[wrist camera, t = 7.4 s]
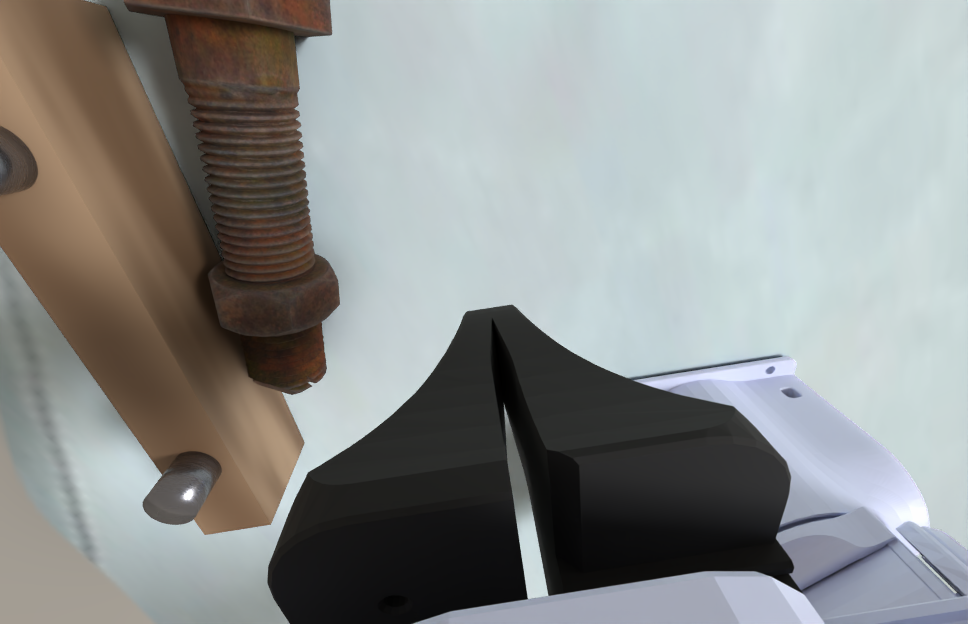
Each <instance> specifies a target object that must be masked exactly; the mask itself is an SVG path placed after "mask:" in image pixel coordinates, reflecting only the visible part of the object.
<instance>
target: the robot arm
mask: <svg viewBox="0 0 968 624" xmlns="http://www.w3.org/2000/svg"><path fill="white" fill-rule="evenodd" d="M796 366H797V363H796V361H795V360H794V359H792V358H791V357H789V356H785V357H779V358H772V359H766V360H760V361H753V362H747V363H740V364H734V365H728V366H721V367H715V368H708V369H702V370H696V371H689V372H683V373H676V374H670V375H664V376H657V377H651V378H644V379H638V380H630V379H628V378H625V377H623V376H620V375H618V374H615V373H613V372H610V371H608V370H606V369H604V368H601V367H599V366H597V365H595V364H593V363H591V362H589V361H587V360H585V359H583V358H582V357H580V356H578V355H576V354H574V353H573V352H571V351H569V350H568V349H566V348H565V347H563V346H562V345H560V344H558V343H557V342H556V341H554V340H553V339H551V338H550V337H549V336H548V335H546V334H545V333H544V332H543V331H541V330H540V329H539V328H538V327H536V326H535V325H534V324H533V323H532V322H531V321H530V320H529V319H527V318H526V317H525V316H524V315H523V314H522V313H521V312H520V311H519V310H518V309H517V308H516V307H515V306H513V305H507V306H500V307H494V308H487V309H480V310H474V311H467V312H466V313H465V315H464V316H463V319H462V322H461V324H460V326H459V329H458V331H457V333H456V335H455V337H454V339H453V340H452V342H451V344H450V346H449V348H448V349H447V351H446V353H445V354H444V356H443V357H442V359H441V360H440V362H439V363H438V365H437V366H436V368H435V369H434V371H433V372H432V373H431V375H430V376H429V377H428V379H427V380H426V381H425V382H424V384H423V385H422V386H421V387H420V388H419V389H418V391H417V392H416V393H415V394H414V395H413V396H412V397H411V398H410V399H408V400H407V401H406V402H405V403H404V404H403V405H402V406H401V407H400V408H399V409H398V410H397V411H396V412H395V413H394V414H393V415H391V416H390V417H389V418H388V419H387V420H385V421H384V422H383V423H382V424H380V425H379V426H378V427H377V428H375V429H374V430H373V431H371V432H370V433H369V434H367V435H366V436H365V437H363V438H362V439H361V440H359V441H358V442H356V443H355V444H353V445H352V446H350V447H349V448H347V449H346V450H344V451H342V452H341V453H339V454H338V455H336V456H334V457H333V458H331V459H330V460H328V461H326V462H325V463H323V464H322V465H320V466H319V467H317V468H315V469H313V470H312V471H310V472H308V474H307V476H306V478H305V480H304V482H303V484H302V486H301V488H300V490H299V492H298V494H297V496H296V498H295V500H294V503H293V505H292V507H291V510H290V512H289V514H288V517H287V519H286V522H285V525H284V527H283V530H282V532H281V535H280V538H279V540H278V543H277V545H276V548H275V551H274V553H273V556H272V558H271V561H270V564H269V567H268V586H269V588H270V590H271V593H272V595H273V598H274V600H275V601H276V603H277V604H278V606H279V607H280V609H281V611H282V612H283V614H284V615H285V617H286V618H287V620H288V621H289V623H290V624H968V550H967V549H966V548H965V547H964V546H962V545H961V544H960V543H959V542H957V541H956V540H955V539H954V538H952V537H951V536H950V535H948V534H947V533H945V532H944V531H942V530H939V529H935V528H931V527H930V524H929V515H928V510H927V506H926V504H925V501H924V499H923V496H922V494H921V492H920V490H919V489H918V487H917V485H916V484H915V482H914V480H913V479H912V477H911V476H910V474H909V473H908V471H907V470H906V469H905V468H904V466H903V465H902V464H901V463H900V461H899V460H898V459H897V458H896V457H895V456H894V455H893V454H892V453H891V452H890V451H889V450H888V449H886V448H885V447H884V446H883V445H882V444H881V443H879V442H878V441H877V440H876V439H874V438H873V437H872V436H871V435H869V434H868V433H867V432H865V431H864V430H863V429H862V428H860V427H859V426H858V425H857V424H855V423H854V422H853V421H852V420H850V419H849V418H848V417H847V416H845V415H844V414H843V413H842V412H840V411H839V410H838V409H837V408H835V407H834V406H833V405H832V404H830V403H829V402H828V401H827V400H825V399H824V398H823V397H822V396H820V395H819V394H818V393H817V392H815V391H814V390H813V389H811V388H810V387H809V386H808V385H806V384H805V383H804V382H803V381H801V380H800V379H799V378H798V377H796V376H795V375H794V373H795V370H796ZM768 367H769V368H768ZM767 368H768V369H767ZM504 405H505V408H506V412H507V415H508V419H509V422H510V425H511V429H512V432H513V436H514V439H515V442H516V446H517V449H518V452H519V456H520V459H521V462H522V466H523V469H524V473H525V477H526V481H527V485H528V490H529V495H530V500H531V505H532V510H533V516H534V521H535V526H536V531H537V537H538V542H539V547H540V553H541V558H542V563H543V568H544V574H545V579H546V585H547V590H548V595H549V596H546V597H539V598H533V599H528V598H527V591H526V584H525V577H524V570H523V564H522V557H521V550H520V543H519V536H518V529H517V523H516V516H515V509H514V502H513V495H512V489H511V483H510V477H509V470H508V464H507V450H506V433H505V417H504ZM919 554H921V555H922V558H923V559H924V560H925V562H926V563H928V564H929V565H930V566H931V567H932V568H933V569H934V570H935V571H936V572H937V573H938V574H939V575H940V576H941V577H942V578H943V579H944V580H945V581H946V582H947V583H948V584H949V585H950V586H951V587H952V588H953V589H954V590H955V591H956V592H957V593H956V594H955V593H953V592H952V591H951V590H950V589H949V588H948V587H947V586H946V585H945V584H944V583H943V582H942V581H941V580H940V579H939V578H938V577H937V576H936V575H935V574H934V573H933V572H932V571H931V570H930V569H929V568H928V567H927V566H926V565H925V564H924V563H923V562H922V561H921V560H920V559H919V558H918V557H917V556H918V555H919Z"/></svg>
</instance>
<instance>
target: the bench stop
mask: <svg viewBox="0 0 968 624" xmlns="http://www.w3.org/2000/svg"><path fill="white" fill-rule="evenodd" d="M0 246H1V248H2V249H3V250H4V252H5V253H6V255H7V256H8V257H9V259H10V260H11V262H12V263H13V265H14V266H15V267H16V269H17V270H18V272H19V273H20V274H21V276H22V277H23V279H24V280H25V282H26V283H27V284H28V286H29V287H30V289H31V290H32V291H33V293H34V294H35V296H36V297H37V298H38V300H39V301H40V303H41V304H42V306H43V307H44V308H45V310H46V311H47V313H48V314H49V315H50V317H51V318H52V320H53V321H54V323H55V324H56V325H57V327H58V328H59V330H60V331H61V332H62V334H63V335H64V337H65V338H66V339H67V341H68V342H69V344H70V345H71V347H72V348H73V349H74V351H75V352H76V354H77V355H78V356H79V358H80V359H81V361H82V362H83V363H84V365H85V366H86V368H87V369H88V371H89V372H90V373H91V375H92V376H93V378H94V379H95V380H96V382H97V383H98V385H99V386H100V388H101V389H102V390H103V392H104V393H105V395H106V396H107V397H108V399H109V400H110V402H111V403H112V404H113V406H114V407H115V409H116V410H117V412H118V413H119V414H120V416H121V417H122V419H123V420H124V421H125V423H126V424H127V426H128V427H129V429H130V430H131V431H132V433H133V434H134V436H135V437H136V438H137V440H138V441H139V443H140V444H141V445H142V447H143V448H144V450H145V451H146V453H147V454H148V455H149V457H150V458H151V460H152V461H153V462H154V464H155V465H156V467H157V468H158V469H159V471H160V472H161V474H162V476H161V478H160V479H159V480H158V482H157V483H156V484H155V486H154V487H153V488H152V490H151V491H150V492H149V494H148V495H147V496H146V498H145V499H144V501H143V508H144V511H145V512H146V513H147V514H148V515H149V516H150V517H151V518H153V519H155V520H157V521H159V522H162V523H166V524H172V525H179V524H185V523H188V522H190V521H192V520H193V519H194V520H195V522H196V523H197V525H198V526H199V527H200V529H201V530H202V532H203V533H204V535H207V534H214V533H220V532H226V531H233V530H239V529H245V528H252V527H258V526H264V525H271V523H272V521H273V518H274V516H275V513H276V511H277V508H278V506H279V504H280V501H281V499H282V496H283V494H284V491H285V489H286V487H287V484H288V482H289V479H290V477H291V475H292V472H293V470H294V467H295V465H296V462H297V460H298V458H299V455H300V453H301V450H302V448H303V445H304V440H303V438H302V436H301V434H300V432H299V429H298V427H297V425H296V423H295V421H294V418H293V416H292V414H291V412H290V410H289V407H288V405H287V403H286V401H285V399H284V396H283V394H282V392H281V391H277V390H274V389H270V388H267V387H264V386H261V385H258V384H256V383H255V382H253V379H252V378H250V377H248V371H247V369H248V368H247V366H246V361H245V355H244V351H243V347H242V341H241V340H240V334H239V333H235V332H232V331H230V330H227V329H225V328H222V327H221V325H220V322H219V318H218V314H217V310H216V306H215V302H214V298H213V294H212V290H211V286H210V282H209V278H208V273H209V272H210V271H211V270H212V269H213V268H214V266H215V265H217V264H218V263H220V262H221V261H222V260H221V258H220V256H219V253H218V251H217V249H216V247H215V244H214V242H213V240H212V238H211V236H210V233H209V231H208V229H207V227H206V225H205V222H204V220H203V218H202V216H201V214H200V211H199V209H198V207H197V205H196V203H195V200H194V198H193V196H192V194H191V192H190V189H189V187H188V185H187V183H186V181H185V178H184V176H183V174H182V172H181V170H180V167H179V165H178V163H177V161H176V159H175V156H174V154H173V152H172V150H171V148H170V145H169V143H168V141H167V139H166V137H165V134H164V132H163V130H162V128H161V126H160V123H159V121H158V119H157V117H156V115H155V112H154V110H153V108H152V106H151V104H150V101H149V99H148V97H147V95H146V93H145V90H144V88H143V86H142V84H141V82H140V79H139V77H138V75H137V73H136V71H135V68H134V66H133V64H132V62H131V60H130V57H129V55H128V53H127V51H126V49H125V46H124V44H123V42H122V40H121V37H120V35H119V33H118V31H117V29H116V26H115V24H114V22H113V20H112V18H111V15H110V13H109V11H108V9H107V7H106V6H102V5H99V4H95V3H91V2H87V1H84V0H0Z"/></svg>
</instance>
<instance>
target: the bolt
mask: <svg viewBox="0 0 968 624" xmlns="http://www.w3.org/2000/svg"><path fill="white" fill-rule="evenodd" d="M124 3H125V5H126V7H127V9H128V10H129V11H131V12H137V13H143V14H148V15H154V16H160V17H165V21H166V25H167V29H168V34H169V38H170V42H171V46H172V51H173V55H174V59H175V63H176V68H177V72H178V76H179V79H180V80H181V82H182V83H183V84H184V86H185V91H186V92H187V94H188V95H189V97H188V103H189V104H191V105H193V106H194V107H196V109H193V110H191V115H193V116H194V117H196V118H197V119H199V120H197V121H195V122H193V126H194V127H196V128H197V129H199V130H200V132H198V133H196V138H197V139H199V140H201V141H202V142H204V143H201V144H199V145H198V149H199V150H201V151H203V152H204V153H206V154H204V155H202V156H200V160H201V161H203V162H205V163H206V164H208V165H206V166H204V167H203V169H202V170H203V171H204V172H206V173H208V174H209V176H207V177H205V181H206V182H208V183H209V184H211V185H210V186H208V187H207V188H206V189H207V191H208V192H210V193H212V195H211V196H210V197H209V200H210V201H211V202H212V203H214V204H213V206H212V207H211V209H212V211H213V212H215V213H216V214H215V215H214V217H213V219H214V220H215V221H216V222H217V224H216V226H215V228H216V229H217V230H218V231H219V233H218V238H219V239H220V240H222V241H221V243H220V247H221V248H222V249H223V251H222V256H223V257H224V258H225V259H224V260H223V261H221V262H220V263H218V264H217V265H215V266H214V268H213V269H212V270H211V271H210V272H209V273H208V278H209V282H210V286H211V290H212V294H213V298H214V302H215V306H216V310H217V314H218V318H219V322H220V325H221V327H222V328H225V329H227V330H230V331H232V332H235V333H239V334H240V340H241V341H242V347H243V351H244V355H245V361H246V366H247V368H248V369H247V371H248V377H250V378H252V379H253V382H255V383H256V384H258V385H261V386H264V387H267V388H270V389H274V390H277V391H281V392H284V393H287V394H291V395H293V394H297V393H301V392H303V391H304V390H306V389H308V388H310V387H312V386H311V385H310V384H309V383H308V382H313V383H317V382H318V381H320V380H321V379H322V378H323V376H324V374H325V373H326V369H327V367H326V358H325V353H324V342H323V335H322V327H321V326H322V323H321V322H322V321H323V320H325V319H326V318H327V317H328V316H329V315H330V314H331V313H332V312H333V311H334V310H335V309H336V308H337V307H338V306H339V305H340V299H339V286H338V279H337V277H336V275H335V273H334V271H333V269H332V267H331V266H330V264H329V262H328V261H327V260H326V259H325V258H323V257H321V256H319V255H316V254H314V249H313V246H314V243H313V241H312V238H313V235H312V233H311V230H312V228H311V224H309V223H310V216H309V215H308V214H309V212H310V209H309V208H308V207H307V205H308V204H309V201H308V199H307V198H306V197H307V195H308V191H307V190H306V189H305V188H306V186H307V181H305V180H304V178H305V177H306V172H305V171H303V170H302V169H303V168H304V167H305V162H303V161H301V159H302V158H304V153H303V152H301V151H300V149H301V148H302V147H303V143H302V142H300V141H298V140H299V139H300V138H301V137H302V134H301V132H299V131H297V130H296V129H298V128H299V127H301V123H300V122H299V121H297V120H295V119H296V118H298V117H299V116H300V114H299V111H297V110H295V109H294V108H295V107H297V106H298V105H299V104H298V97H297V93H298V91H299V89H300V87H299V77H298V67H297V57H296V47H295V38H294V35H295V36H304V37H313V36H328V35H332V25H331V11H330V0H124Z"/></svg>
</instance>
